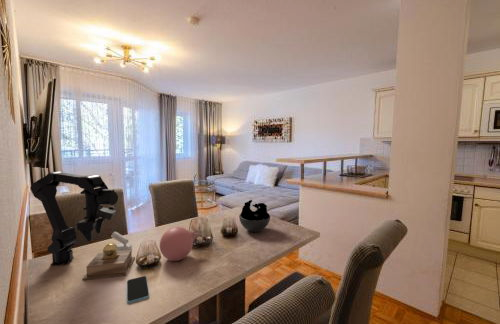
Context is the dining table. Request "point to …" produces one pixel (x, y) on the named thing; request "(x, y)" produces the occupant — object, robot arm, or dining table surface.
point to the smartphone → (137, 289)
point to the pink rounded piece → (177, 243)
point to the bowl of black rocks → (254, 217)
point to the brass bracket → (110, 251)
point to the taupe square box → (109, 266)
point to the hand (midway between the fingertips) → (94, 237)
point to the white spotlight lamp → (124, 242)
